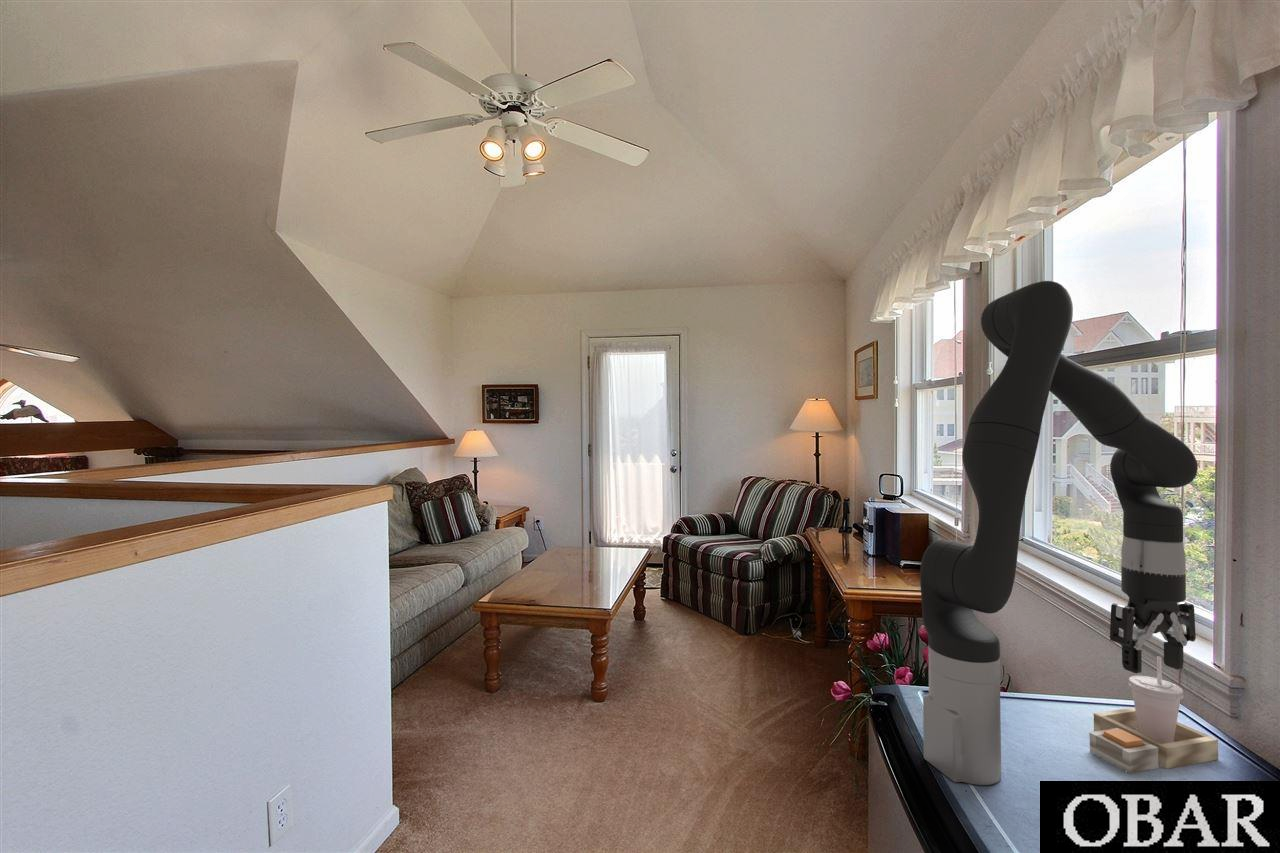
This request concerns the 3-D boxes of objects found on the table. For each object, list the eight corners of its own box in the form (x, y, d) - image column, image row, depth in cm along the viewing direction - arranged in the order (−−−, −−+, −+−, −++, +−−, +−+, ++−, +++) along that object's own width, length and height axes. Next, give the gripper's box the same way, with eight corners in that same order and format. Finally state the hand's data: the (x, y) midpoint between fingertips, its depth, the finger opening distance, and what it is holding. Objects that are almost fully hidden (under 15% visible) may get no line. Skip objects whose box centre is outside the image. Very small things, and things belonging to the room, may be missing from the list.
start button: (1126, 758, 81) (1126, 742, 81) (1103, 746, 84) (1103, 731, 84) (1143, 755, 81) (1142, 739, 82) (1119, 744, 85) (1119, 728, 85)
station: (1132, 775, 79) (1132, 754, 79) (1062, 736, 89) (1062, 718, 89) (1218, 759, 83) (1218, 739, 83) (1141, 724, 93) (1141, 706, 93)
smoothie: (1196, 759, 83) (1194, 666, 83) (1147, 754, 84) (1146, 663, 84) (1164, 736, 89) (1163, 650, 89) (1119, 731, 90) (1118, 647, 91)
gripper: (1144, 574, 82) (1144, 683, 81) (1215, 571, 85) (1215, 676, 84) (1093, 563, 89) (1093, 663, 89) (1159, 560, 92) (1160, 657, 92)
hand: (1153, 669), depth 86 cm, fingers open, 8 cm apart
